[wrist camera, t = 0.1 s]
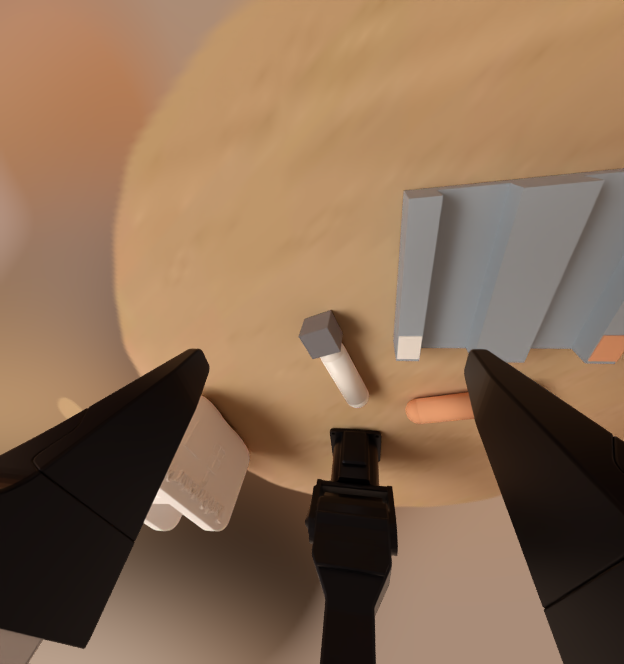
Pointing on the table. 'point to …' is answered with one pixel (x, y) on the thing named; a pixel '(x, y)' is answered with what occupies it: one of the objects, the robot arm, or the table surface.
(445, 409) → the orange-handled mallet
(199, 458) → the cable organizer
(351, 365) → the white-handled mallet
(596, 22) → the table surface
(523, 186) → the ribbed grooved tray
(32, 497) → the robot arm
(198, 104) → the table surface
